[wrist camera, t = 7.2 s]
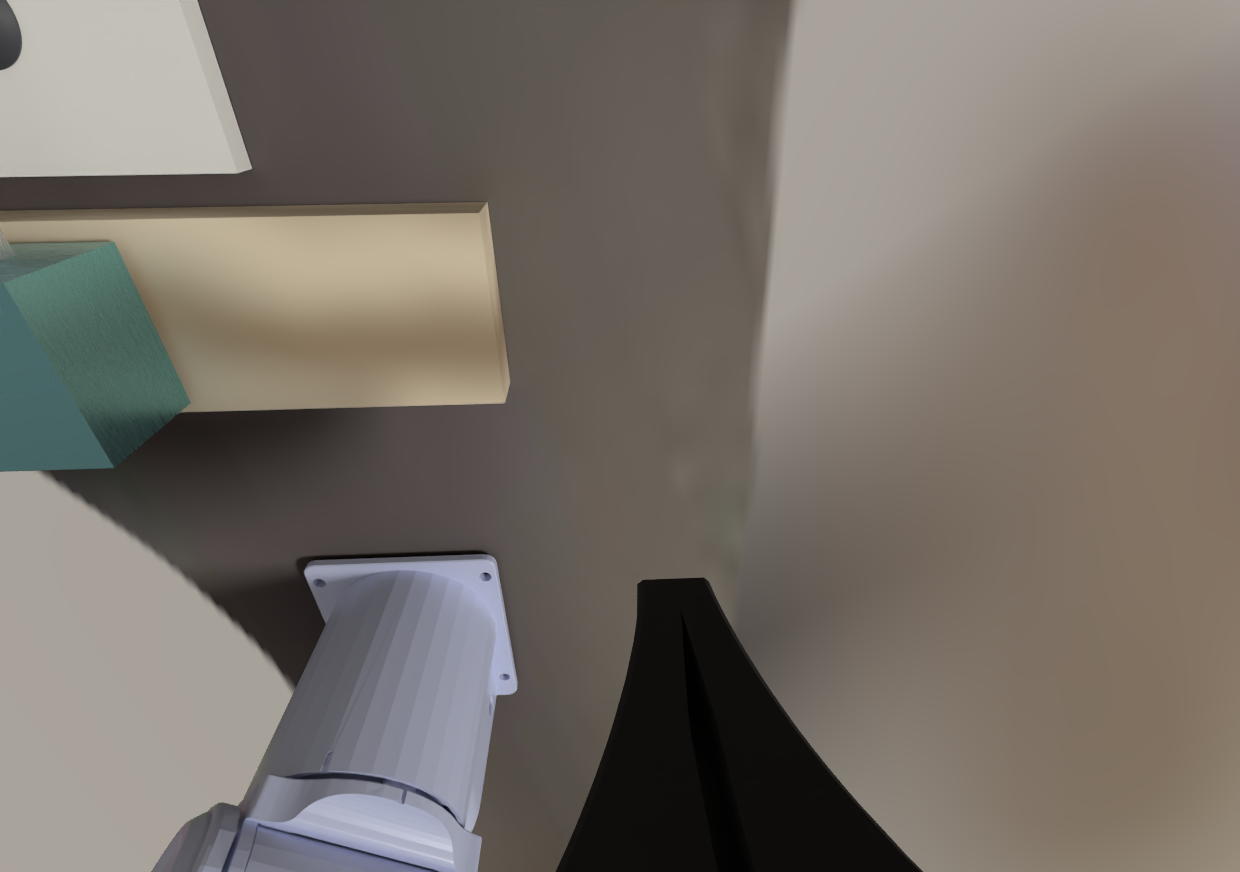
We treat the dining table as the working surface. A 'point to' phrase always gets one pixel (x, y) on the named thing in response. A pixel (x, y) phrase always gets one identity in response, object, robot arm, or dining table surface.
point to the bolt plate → (112, 91)
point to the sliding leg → (77, 359)
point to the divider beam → (309, 299)
